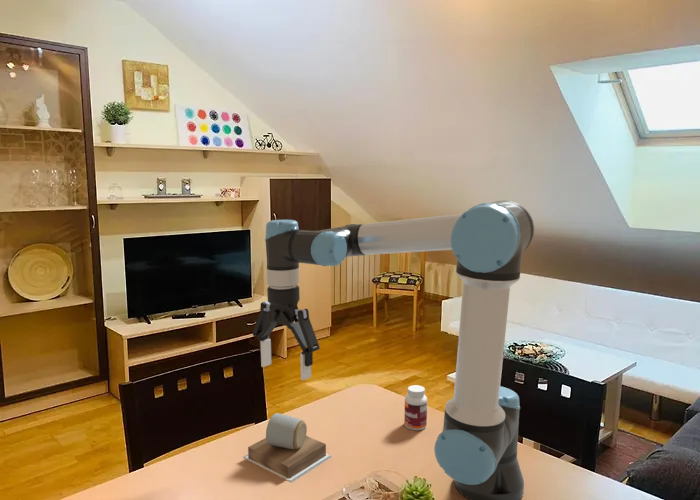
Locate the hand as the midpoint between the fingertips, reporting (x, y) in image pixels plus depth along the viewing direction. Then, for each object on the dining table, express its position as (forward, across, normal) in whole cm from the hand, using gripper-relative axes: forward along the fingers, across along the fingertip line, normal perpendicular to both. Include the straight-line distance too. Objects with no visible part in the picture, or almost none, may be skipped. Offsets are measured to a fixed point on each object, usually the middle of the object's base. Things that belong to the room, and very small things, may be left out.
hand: (285, 371), depth 129 cm
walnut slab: (+22, 0, 0) cm, 22 cm away
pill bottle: (+23, -16, -34) cm, 44 cm away
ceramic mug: (+19, +1, -1) cm, 19 cm away
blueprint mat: (+22, 0, 0) cm, 23 cm away
